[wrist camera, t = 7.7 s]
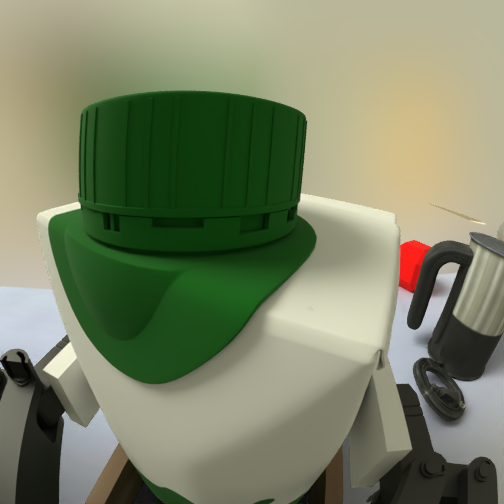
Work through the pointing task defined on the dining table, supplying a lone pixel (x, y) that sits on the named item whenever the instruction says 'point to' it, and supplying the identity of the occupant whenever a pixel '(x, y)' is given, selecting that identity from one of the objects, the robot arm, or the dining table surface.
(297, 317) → the soya milk
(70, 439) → the dining table surface
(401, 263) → the ball
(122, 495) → the holder
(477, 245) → the milk frother
